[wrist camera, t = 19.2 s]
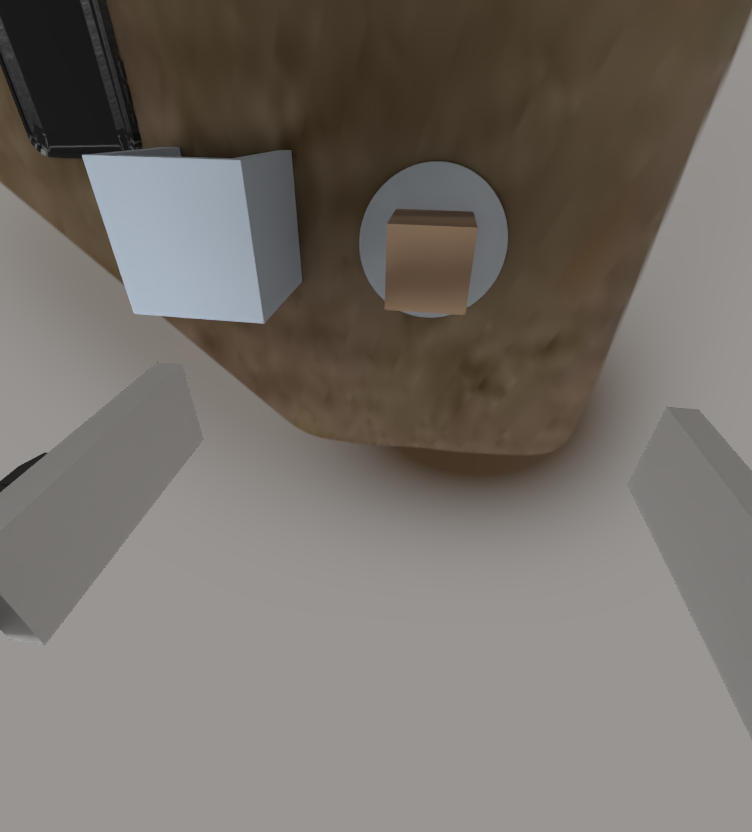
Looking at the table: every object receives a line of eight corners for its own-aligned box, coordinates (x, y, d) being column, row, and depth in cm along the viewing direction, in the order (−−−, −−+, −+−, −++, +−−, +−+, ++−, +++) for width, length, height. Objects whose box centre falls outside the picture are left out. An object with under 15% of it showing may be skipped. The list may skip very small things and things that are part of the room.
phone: (35, 156, 29) (-103, -202, 21) (48, 155, 30) (-79, -188, 22) (141, 160, 29) (43, -211, 20) (150, 159, 29) (61, -197, 21)
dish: (361, 158, 27) (358, 159, 26) (520, 163, 26) (523, 164, 25) (361, 307, 33) (359, 312, 32) (491, 316, 32) (493, 322, 31)
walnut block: (395, 208, 28) (386, 223, 23) (473, 211, 27) (477, 227, 23) (393, 284, 30) (384, 309, 26) (463, 288, 30) (465, 315, 26)
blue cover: (168, 146, 28) (81, 154, 22) (291, 150, 28) (240, 160, 21) (197, 274, 33) (133, 313, 27) (302, 281, 33) (264, 323, 26)
